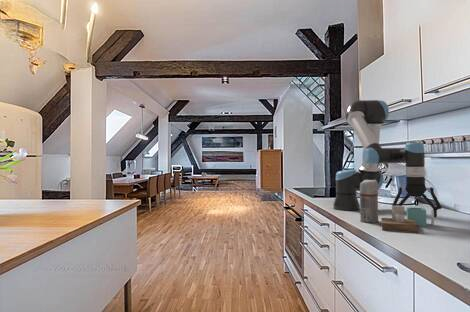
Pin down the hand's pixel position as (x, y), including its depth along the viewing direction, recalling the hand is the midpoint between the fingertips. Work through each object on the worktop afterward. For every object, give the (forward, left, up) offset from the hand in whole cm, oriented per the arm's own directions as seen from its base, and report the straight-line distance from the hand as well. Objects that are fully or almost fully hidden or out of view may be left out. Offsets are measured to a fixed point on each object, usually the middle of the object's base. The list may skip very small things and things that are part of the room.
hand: (416, 223), depth 143 cm
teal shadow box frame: (0, 0, 0) cm, 0 cm away
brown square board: (+12, -8, 0) cm, 15 cm away
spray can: (+1, -20, 0) cm, 20 cm away
